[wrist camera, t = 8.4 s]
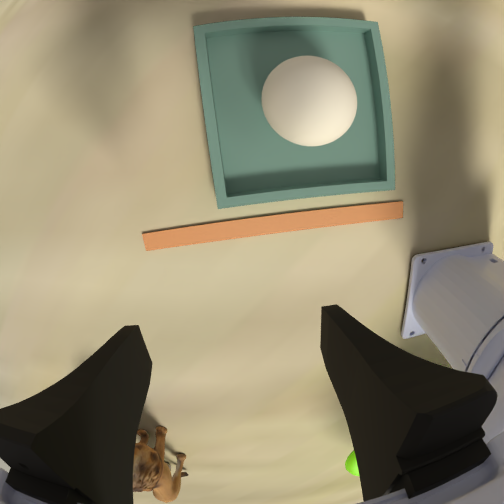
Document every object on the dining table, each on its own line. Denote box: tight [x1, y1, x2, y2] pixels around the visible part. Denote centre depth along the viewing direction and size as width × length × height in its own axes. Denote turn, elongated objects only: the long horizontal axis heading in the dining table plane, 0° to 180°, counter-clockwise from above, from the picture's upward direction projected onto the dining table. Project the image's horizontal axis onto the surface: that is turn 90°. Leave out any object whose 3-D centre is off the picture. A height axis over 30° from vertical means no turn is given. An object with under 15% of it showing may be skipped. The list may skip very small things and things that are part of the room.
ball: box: [261, 56, 357, 146], centre depth 14 cm, size 5×5×5 cm
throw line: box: [142, 201, 403, 251], centre depth 20 cm, size 18×1×1 cm, turn 97°
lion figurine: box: [133, 426, 188, 503], centre depth 25 cm, size 15×5×9 cm, turn 17°
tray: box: [193, 17, 395, 209], centre depth 16 cm, size 11×11×1 cm
